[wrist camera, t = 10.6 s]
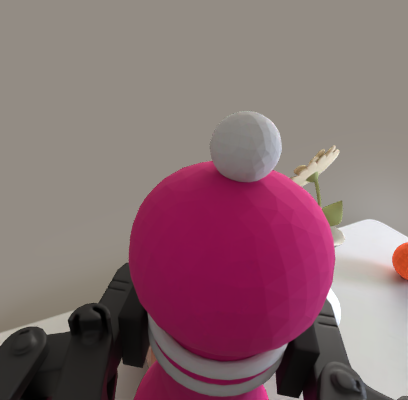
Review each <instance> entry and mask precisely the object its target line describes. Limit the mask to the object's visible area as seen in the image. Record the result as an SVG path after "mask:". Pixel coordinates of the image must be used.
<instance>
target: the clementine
mask: <svg viewBox="0 0 408 400" xmlns="http://www.w3.org/2000/svg"><path fill="white" fill-rule="evenodd" d="M392 263H393V266H394V268H395V270H396V272H397V273H398V274H399V275H400V276H401V277H403V278H404V279H406V280H408V242H407V243H404V244H402V245H400V246H399V247H398V248H397V249H396V250H395V251H394V254H393V257H392Z"/></svg>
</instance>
